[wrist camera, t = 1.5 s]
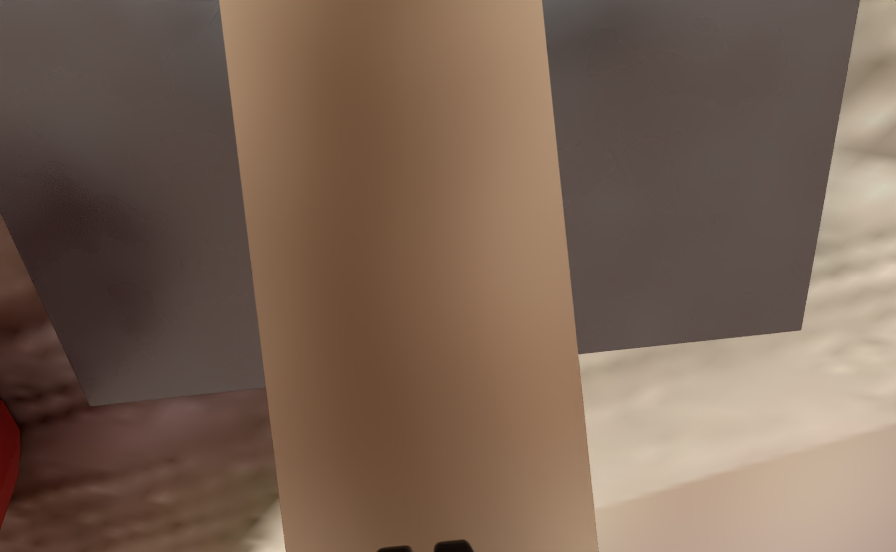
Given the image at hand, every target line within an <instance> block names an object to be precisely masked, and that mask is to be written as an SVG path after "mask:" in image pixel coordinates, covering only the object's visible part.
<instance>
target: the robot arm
mask: <svg viewBox="0 0 896 552" xmlns="http://www.w3.org/2000/svg"><path fill="white" fill-rule="evenodd" d="M377 552H413V550H412V548H411V547H410V546H408V545H402V546H392V547H383V548H380V549H379V550H378V551H377ZM434 552H474V550H473V549H472V547H471V545H470V543H469V542H468V541H467V540H464V539H460V540H450V541H441V542H438V543H436V544H435V546H434Z"/></svg>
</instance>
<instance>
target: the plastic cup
mask: <svg viewBox="0 0 896 552" xmlns="http://www.w3.org/2000/svg"><path fill="white" fill-rule="evenodd" d="M20 456H21V447H20V429H19V427H18V426H17V424H16V422H15V421H14V419H13V417H12V416H11V414H10V412H9V411H8V409H7V407H6V405H5V404H4V402H3V401H1V400H0V529H1V526H2V523H3V520H4V517H5V514H6V511H7V508H8V505H9V502H10V499H11V496H12V493H13V490H14V487H15V484H16V480H17V477H18V474H19V459H20Z"/></svg>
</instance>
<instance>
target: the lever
mask: <svg viewBox="0 0 896 552" xmlns="http://www.w3.org/2000/svg"><path fill="white" fill-rule="evenodd" d="M219 3H220V11H221V20H222V28H223V36H224V45H225V53H226V61H227V69H228V78H229V86H230V94H231V102H232V111H233V119H234V127H235V135H236V144H237V152H238V160H239V168H240V177H241V185H242V193H243V201H244V210H245V218H246V226H247V235H248V243H249V251H250V259H251V268H252V276H253V284H254V292H255V301H256V309H257V317H258V325H259V334H260V342H261V350H262V358H263V367H264V375H265V383H266V391H267V400H268V408H269V416H270V425H271V433H272V441H273V449H274V458H275V466H276V474H277V482H278V491H279V499H280V507H281V515H282V524H283V532H284V540H285V548H286V552H377V551H378V550H379V549H380V548H383V547H392V546H402V545H408V546H410V547H411V548H412V550H413V552H434V546H435V544H436V543H438V542H441V541H450V540H460V539H464V540H467V541H468V542H469V543H470V545H471V547H472V549H473V550H474V552H598V543H597V533H596V523H595V513H594V503H593V493H592V484H591V474H590V464H589V454H588V445H587V435H586V425H585V415H584V406H583V396H582V386H581V377H580V367H579V357H578V347H577V338H576V328H575V318H574V308H573V299H572V289H571V279H570V269H569V260H568V250H567V240H566V231H565V221H564V211H563V201H562V192H561V182H560V172H559V162H558V153H557V143H556V133H555V124H554V114H553V104H552V94H551V85H550V75H549V65H548V55H547V46H546V36H545V26H544V16H543V7H542V0H219Z"/></svg>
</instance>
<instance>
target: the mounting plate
mask: <svg viewBox="0 0 896 552" xmlns="http://www.w3.org/2000/svg"><path fill="white" fill-rule="evenodd" d="M859 1H860V0H542V7H543V16H544V26H545V36H546V46H547V55H548V65H549V75H550V85H551V94H552V104H553V114H554V124H555V133H556V143H557V153H558V162H559V172H560V182H561V192H562V201H563V211H564V221H565V231H566V240H567V250H568V260H569V269H570V279H571V289H572V299H573V308H574V318H575V328H576V338H577V347H578V354H584V353H593V352H603V351H612V350H621V349H631V348H640V347H650V346H659V345H668V344H678V343H687V342H696V341H706V340H715V339H724V338H734V337H743V336H752V335H762V334H771V333H780V332H790V331H799V330H801V328H802V322H803V317H804V311H805V305H806V300H807V294H808V288H809V283H810V277H811V272H812V266H813V260H814V255H815V249H816V243H817V238H818V232H819V227H820V221H821V215H822V210H823V204H824V198H825V193H826V187H827V181H828V176H829V170H830V165H831V159H832V153H833V148H834V142H835V136H836V131H837V125H838V120H839V114H840V108H841V103H842V97H843V91H844V86H845V80H846V75H847V69H848V63H849V58H850V52H851V46H852V41H853V35H854V30H855V24H856V18H857V13H858V7H859ZM0 213H1V215H2V217H3V219H4V221H5V223H6V226H7V228H8V230H9V232H10V234H11V236H12V239H13V241H14V243H15V245H16V247H17V249H18V251H19V254H20V256H21V258H22V260H23V262H24V264H25V267H26V269H27V271H28V273H29V275H30V277H31V280H32V282H33V284H34V286H35V288H36V290H37V292H38V295H39V297H40V299H41V301H42V303H43V305H44V308H45V310H46V312H47V314H48V316H49V318H50V321H51V323H52V325H53V327H54V329H55V331H56V334H57V336H58V338H59V340H60V342H61V344H62V346H63V349H64V351H65V353H66V355H67V357H68V359H69V362H70V364H71V366H72V368H73V370H74V372H75V375H76V377H77V379H78V381H79V383H80V385H81V387H82V390H83V392H84V394H85V396H86V398H87V400H88V403H89V405H90V406H98V405H108V404H117V403H126V402H136V401H145V400H154V399H164V398H173V397H182V396H192V395H201V394H210V393H220V392H229V391H238V390H248V389H257V388H266V383H265V375H264V367H263V358H262V350H261V342H260V334H259V325H258V317H257V309H256V301H255V292H254V284H253V276H252V268H251V259H250V251H249V243H248V235H247V226H246V218H245V210H244V201H243V193H242V185H241V177H240V168H239V160H238V152H237V144H236V135H235V127H234V119H233V111H232V102H231V94H230V86H229V78H228V69H227V61H226V53H225V45H224V36H223V28H222V20H221V11H220V3H219V0H0Z"/></svg>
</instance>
